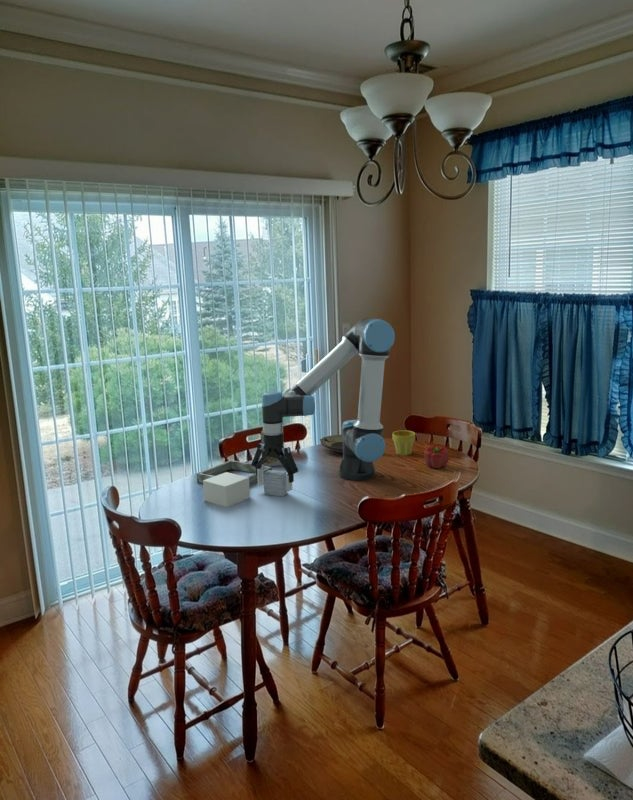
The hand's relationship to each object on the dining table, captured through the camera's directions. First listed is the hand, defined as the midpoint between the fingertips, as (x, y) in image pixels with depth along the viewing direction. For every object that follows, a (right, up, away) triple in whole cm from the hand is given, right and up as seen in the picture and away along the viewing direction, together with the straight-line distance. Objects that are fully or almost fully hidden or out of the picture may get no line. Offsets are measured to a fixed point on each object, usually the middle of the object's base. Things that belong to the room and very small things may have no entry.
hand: (274, 487), depth 229 cm
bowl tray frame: (-18, +1, +20) cm, 27 cm away
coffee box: (-3, +5, +39) cm, 39 cm away
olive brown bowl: (+31, +9, +55) cm, 63 cm away
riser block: (-18, -4, -3) cm, 18 cm away
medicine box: (0, -3, +1) cm, 3 cm away
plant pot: (+56, +8, +49) cm, 75 cm away
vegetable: (+67, +4, +27) cm, 72 cm away
